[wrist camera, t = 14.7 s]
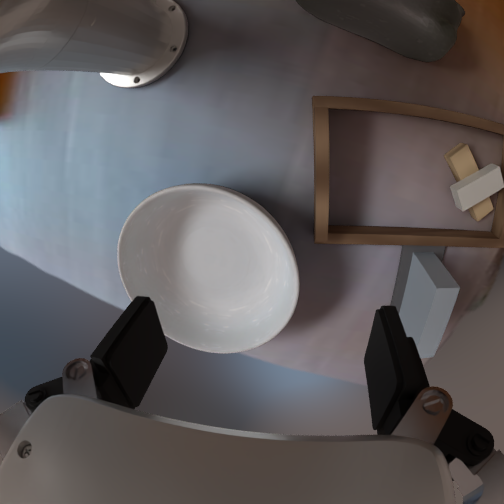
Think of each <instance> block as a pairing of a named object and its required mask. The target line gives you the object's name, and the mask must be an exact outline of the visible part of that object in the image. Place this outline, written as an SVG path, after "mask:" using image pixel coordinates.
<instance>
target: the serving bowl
mask: <svg viewBox="0 0 504 504" xmlns="http://www.w3.org/2000/svg"><path fill="white" fill-rule="evenodd" d="M117 258H118V268H119V273H120V277H121V280H122V283H123V285H124V288H125V290H126V292H127V294H128V296H129V298H130V299H131V301H133V300H134V298H135V297H136V296H145V297H150V299H151V300H152V301H154V303H155V307H156V310H157V313H158V317H159V320H160V323H161V326H162V330H163V333H164V335H166V336H167V337H169V338H171V339H173V340H174V341H176V342H178V343H181V344H183V345H185V346H188V347H191V348H194V349H197V350H201V351H206V352H213V353H235V352H242V351H247V350H250V349H253V348H256V347H258V346H261V345H263V344H265V343H266V342H268V341H270V340H271V339H273V338H274V337H275V336H276V335H277V334H279V333H280V332H281V331H282V330H283V328H284V327H285V326H286V325H287V323H288V322H289V320H290V319H291V317H292V315H293V313H294V311H295V308H296V306H297V302H298V297H299V290H300V278H299V270H298V265H297V261H296V257H295V254H294V251H293V248H292V246H291V243H290V242H289V240H288V238H287V236H286V234H285V232H284V231H283V229H282V228H281V226H280V225H279V224H278V223H277V221H276V220H275V219H274V218H273V217H272V216H271V215H270V214H269V212H267V211H266V210H265V209H264V208H263V207H262V206H261V205H259V204H258V203H256V202H255V201H254V200H252V199H250V198H249V197H247V196H245V195H243V194H241V193H239V192H237V191H235V190H232V189H229V188H226V187H223V186H218V185H213V184H201V183H193V184H184V185H178V186H173V187H169V188H166V189H163V190H161V191H158V192H156V193H154V194H152V195H151V196H149V197H148V198H146V199H145V200H144V201H142V202H141V203H140V204H139V205H138V206H137V207H136V208H135V209H134V210H133V211H132V212H131V214H130V215H129V217H128V218H127V220H126V222H125V223H124V226H123V228H122V230H121V233H120V237H119V241H118V250H117Z"/></svg>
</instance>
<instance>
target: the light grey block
mask: <svg viewBox="0 0 504 504" xmlns="http://www.w3.org/2000/svg"><path fill="white" fill-rule="evenodd" d="M459 290H460V287H459V285H458V284H457V283H456V281H455V280H454V278H453V277H452V276H451V274H450V273H449V272H448V270H447V269H446V268H445V266H444V265H443V264H442V262H441V261H440V260H439V259H438V257H437V256H436V255H435V254H434V252H413V255H412V261H411V266H410V270H409V275H408V280H407V284H406V288H405V293H404V297H403V301H402V304H401V308H400V312H399V316H400V319H401V322H402V324H403V327H404V330H405V333H406V336H407V337H412V338H413V339H414V341H415V344H416V347H417V350H418V353H419V355H420V358H428V357H434V354H435V352H436V350H437V348H438V345H439V343H440V341H441V338H442V336H443V334H444V331H445V329H446V326H447V323H448V321H449V318H450V316H451V313H452V310H453V307H454V304H455V302H456V299H457V296H458V293H459Z"/></svg>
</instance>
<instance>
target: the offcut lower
mask: <svg viewBox="0 0 504 504" xmlns="http://www.w3.org/2000/svg"><path fill="white" fill-rule="evenodd" d="M444 157H445V159H446V161H447V163H448V165H449V167H450V169H451V171H452V173H453V175H454V177H455V179H456V182H459V181H461V180H462V179H464V178H466V177H468V176H470V175H471V174H473V173H475V172H477V171H479V169H478V167H477V164H476V162H475V160H474V158H473V155H472V153H471V151H470V149H469V147H468V145H467V144H463V143H460V144H458V145H457V146H456V147H454V148H453V149H452V150H450V151H449V152H448V153H446V154H445V155H444ZM468 209H469V212H470V215H471V217H472V218H474V219H475V220H476V221H479V220H481V219H482V218H483V217H484V216H486V215H487V214H488V213H489V212H491V211H492V210H493V206H492V203H491V200H490V197H487V198H486V199H484V200H482V201H480V202H479V203H477V204H475V205H474V206H472V207H470V208H468Z"/></svg>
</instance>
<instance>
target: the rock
mask: <svg viewBox="0 0 504 504" xmlns="http://www.w3.org/2000/svg"><path fill="white" fill-rule="evenodd" d="M296 1H297V2H298V4H299V5H300V6H301V7H302V8H304V9H305V10H306V11H308V12H309V13H311V14H312V15H314V16H316V17H317V18H319V19H321V20H323V21H325V22H327V23H329V24H332V25H334V26H337V27H339V28H342V29H344V30H347V31H349V32H352V33H354V34H357V35H360V36H362V37H365V38H367V39H369V40H372V41H374V42H376V43H378V44H381V45H383V46H385V47H387V48H389V49H391V50H393V51H395V52H397V53H399V54H401V55H403V56H406V57H408V58H412V59H415V60H419V61H424V62H432V61H436V60H439V59H441V58H442V57H443V56H444V55H445V54H446V53H447V52H448V51H449V50H450V49H451V47H452V46H453V45H454V44H455V42H456V39H457V33H456V32H457V29H458V27H459V25H460V22H461V19H462V17H463V16H464V15H465V11H464V9H463V8H462V7H461V6H460V5H459V4H458V3H457V2H456V1H455V0H296Z"/></svg>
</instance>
